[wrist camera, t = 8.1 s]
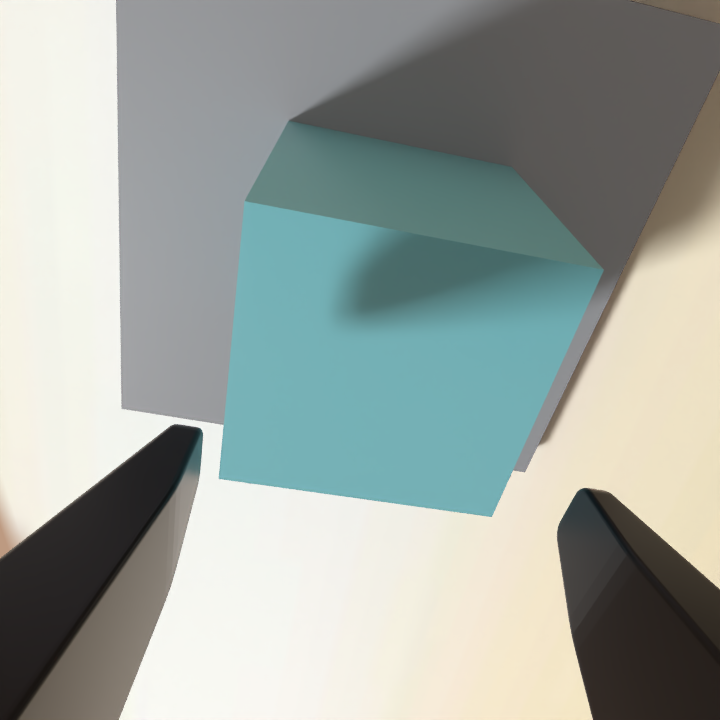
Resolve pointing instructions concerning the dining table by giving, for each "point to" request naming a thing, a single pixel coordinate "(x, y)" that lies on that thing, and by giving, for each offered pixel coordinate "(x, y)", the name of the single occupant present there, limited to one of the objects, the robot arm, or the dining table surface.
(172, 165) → the base board
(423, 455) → the teal block
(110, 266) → the dining table surface
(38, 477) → the dining table surface
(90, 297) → the dining table surface
